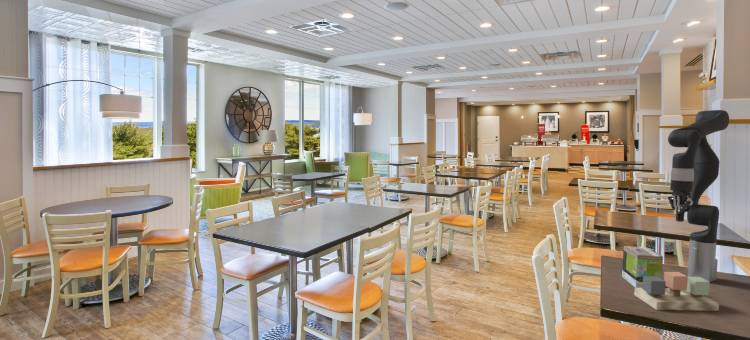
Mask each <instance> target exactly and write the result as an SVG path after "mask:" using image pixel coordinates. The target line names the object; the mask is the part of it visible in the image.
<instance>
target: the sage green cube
mask: <svg viewBox="0 0 750 340" xmlns="http://www.w3.org/2000/svg"><path fill="white" fill-rule="evenodd" d="M710 283H711V282H709V281H707V280H705V279H703V278H701V277H688V284H687V290H686V291H688V292H690V293H692V294H694V295H705V296H709V295H710Z"/></svg>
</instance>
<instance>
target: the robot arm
mask: <svg viewBox="0 0 750 340" xmlns="http://www.w3.org/2000/svg"><path fill="white" fill-rule="evenodd" d="M729 123H730V115H729V113H728V112H727V111H726V110H724V109H712V110H700V111H699V112H697V114H696V116H695V120H694V122H693V123H691V124H689V125H688V126H685V127H684V126H683V127H681V128H680V127H679V128H675V129H673V130H672V131H670V133H669V134H668V137H667V142H668V144H669V145H670V146H671V147H674V148H687V149H686V150H685V151H684V152H679V153H674V154H673V156H672V165H671V170H670V171H671V172H670V183H669V184H670V185H669V187H670V188H669V189H670V191H672V192H671V193H672V194H671V196H667V199H668V201H669V202H668V203H669V204H670V208H671V209H672V210H674V212H675V221H676V222H680V223H683V222H684V221H685V214H686V220H687V223H688V224H690V225H695V226H703V227H707V228H706V229H704V230H699V231H693V232H691V233H690V235H689V249H688V264H687V276H688V277H701V278H703V279H705V280H707V281H709V282H710V283H711V282H714V281H715V282H716V281H717V276H718V274H717V273H718V263H719V262H718V259H717V258H716V256H717V255H716V254H717V253H716V252H717V239H718V238H717V236H718V226H719V220H720V209H719V207H718V206H717V205H708V204H699V201H700V198H701V197H702V195H703V194H704V193H705V191H706V190H708V188H710V186H712V184H713V183H714V182H715V181H716V180H717V179H718V178H719V174H720V173H719V171H720V159H719V157H718V155H717V154H716V153H715V151H714V150H713V148H712V147H711V145H710V144H709V142H708V139H707V136H709V135H712V134H715V133H716V132H721V131H724V130H726V129H727V128H728V127H729V125H730V124H729Z"/></svg>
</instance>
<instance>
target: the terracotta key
mask: <svg viewBox="0 0 750 340" xmlns="http://www.w3.org/2000/svg"><path fill="white" fill-rule="evenodd" d="M663 280H664V281H666V285H665V287H666V288H671V289H672V290H687V284H688V275H685V274H683V273H682V272H679V271H664V274H663Z"/></svg>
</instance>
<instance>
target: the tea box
mask: <svg viewBox="0 0 750 340" xmlns="http://www.w3.org/2000/svg"><path fill="white" fill-rule="evenodd" d="M622 254H623V255H622V273H621V277H622V278H623V279H624V280H625V281H626V282H628V283H629V284H630V285H631V286H632V287H634V289H635V288H643V276H657V277H659V278H661V279H662V278H663V276H662V275H663V263H664V256H663V255H661V254H660V253H658V252H656V251H655V250H653V249H651V248H649V247H647V246H646V247H645V246H634V245H633V246H632V245H631V246H630V245H624V246H623V253H622Z"/></svg>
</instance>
